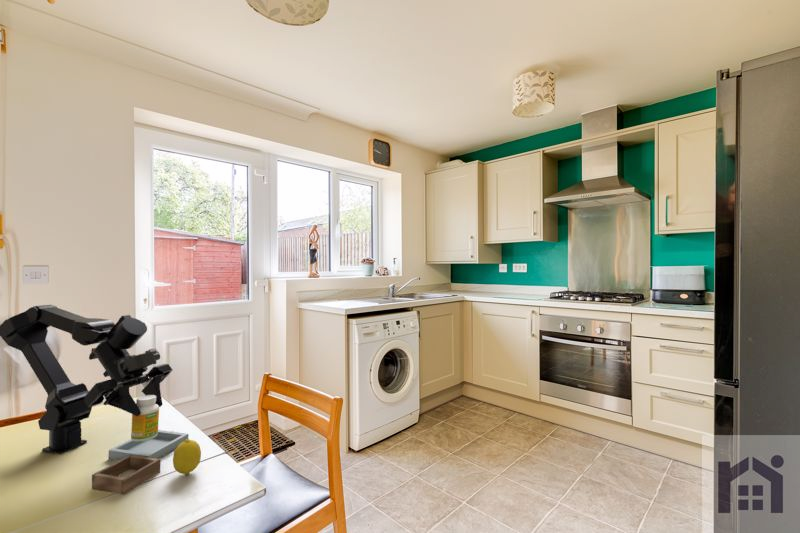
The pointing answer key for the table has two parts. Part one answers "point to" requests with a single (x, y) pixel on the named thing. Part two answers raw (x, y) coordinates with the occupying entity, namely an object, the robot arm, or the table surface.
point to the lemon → (187, 456)
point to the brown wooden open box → (119, 485)
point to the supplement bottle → (145, 419)
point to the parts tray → (149, 446)
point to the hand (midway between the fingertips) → (150, 410)
